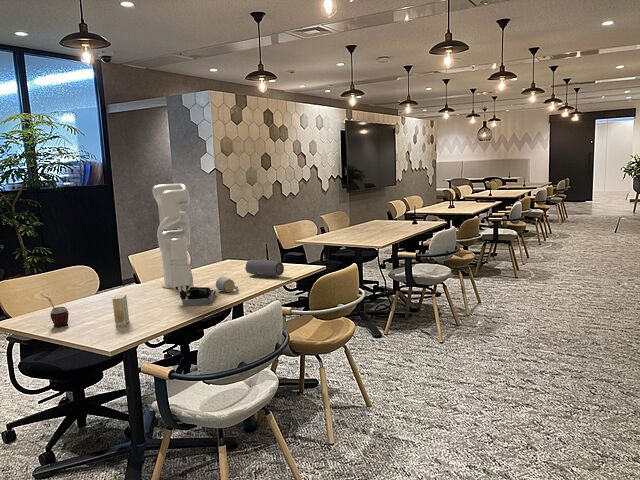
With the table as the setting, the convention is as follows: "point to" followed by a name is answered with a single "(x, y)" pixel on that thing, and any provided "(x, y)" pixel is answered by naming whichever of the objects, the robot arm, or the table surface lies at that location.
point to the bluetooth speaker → (264, 268)
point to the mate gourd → (59, 315)
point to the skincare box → (120, 310)
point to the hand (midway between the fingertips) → (183, 299)
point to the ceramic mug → (225, 284)
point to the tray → (200, 300)
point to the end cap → (198, 292)
